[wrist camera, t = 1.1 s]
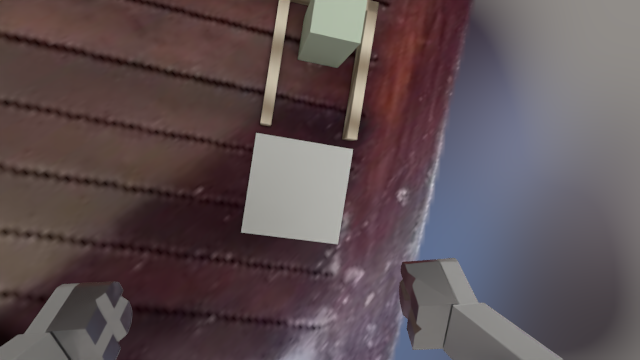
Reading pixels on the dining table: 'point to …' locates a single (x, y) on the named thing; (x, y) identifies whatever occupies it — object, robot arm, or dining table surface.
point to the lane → (357, 76)
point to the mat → (296, 189)
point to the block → (331, 31)
